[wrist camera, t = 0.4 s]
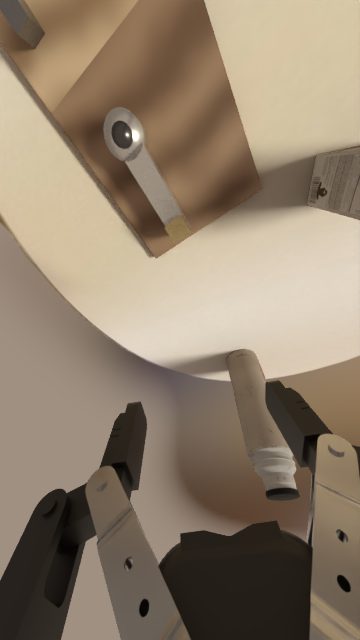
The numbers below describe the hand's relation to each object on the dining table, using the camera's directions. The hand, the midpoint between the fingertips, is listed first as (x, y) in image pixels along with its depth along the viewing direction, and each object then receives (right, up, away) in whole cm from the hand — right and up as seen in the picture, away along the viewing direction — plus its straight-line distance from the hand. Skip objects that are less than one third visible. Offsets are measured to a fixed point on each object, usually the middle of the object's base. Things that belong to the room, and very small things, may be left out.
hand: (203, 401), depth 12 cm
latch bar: (-5, +25, +15) cm, 29 cm away
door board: (-5, +30, +12) cm, 33 cm away
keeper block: (-17, +35, +7) cm, 40 cm away
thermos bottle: (+15, -5, +40) cm, 43 cm away
